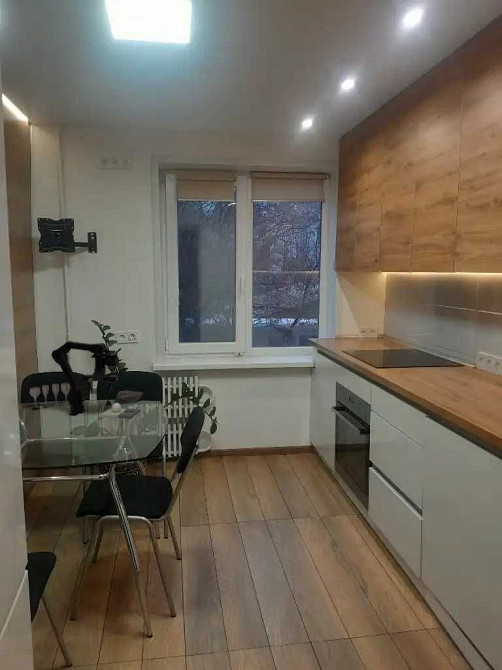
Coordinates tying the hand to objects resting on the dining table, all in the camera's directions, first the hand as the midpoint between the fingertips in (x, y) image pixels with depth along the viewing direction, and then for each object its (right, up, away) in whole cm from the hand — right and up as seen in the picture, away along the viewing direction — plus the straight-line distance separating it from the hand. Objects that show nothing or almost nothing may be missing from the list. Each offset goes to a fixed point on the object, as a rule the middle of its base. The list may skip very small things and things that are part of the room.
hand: (100, 393), depth 277 cm
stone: (+12, -10, +21) cm, 26 cm away
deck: (+12, -12, 0) cm, 17 cm away
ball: (+9, -8, 0) cm, 12 cm away
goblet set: (-33, -10, +20) cm, 39 cm away
